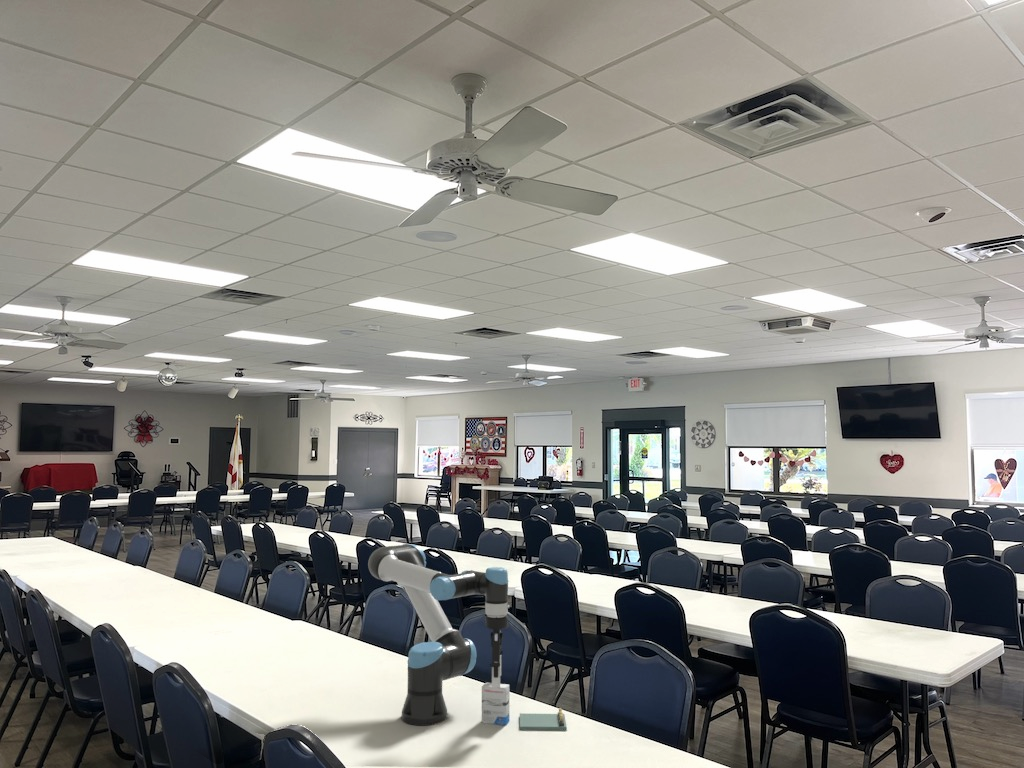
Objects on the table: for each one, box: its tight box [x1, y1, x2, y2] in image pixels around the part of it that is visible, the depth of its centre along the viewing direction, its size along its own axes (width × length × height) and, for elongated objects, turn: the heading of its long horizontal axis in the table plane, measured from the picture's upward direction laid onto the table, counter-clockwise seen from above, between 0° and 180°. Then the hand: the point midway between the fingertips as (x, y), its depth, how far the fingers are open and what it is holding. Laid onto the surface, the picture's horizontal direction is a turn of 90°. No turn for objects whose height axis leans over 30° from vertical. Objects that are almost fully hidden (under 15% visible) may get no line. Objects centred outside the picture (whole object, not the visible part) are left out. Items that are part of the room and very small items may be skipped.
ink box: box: [481, 682, 511, 726], centre depth 239 cm, size 8×5×12 cm, turn 74°
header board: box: [519, 707, 568, 731], centre depth 237 cm, size 15×12×4 cm
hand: (496, 681), depth 239 cm, fingers open, 13 cm apart
